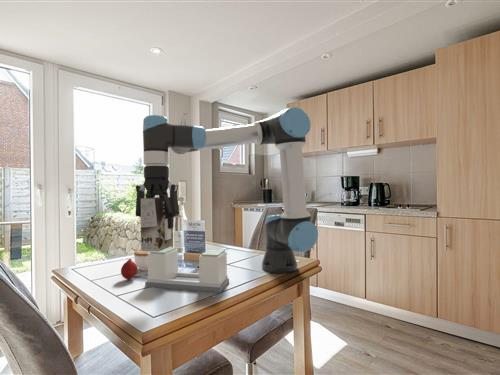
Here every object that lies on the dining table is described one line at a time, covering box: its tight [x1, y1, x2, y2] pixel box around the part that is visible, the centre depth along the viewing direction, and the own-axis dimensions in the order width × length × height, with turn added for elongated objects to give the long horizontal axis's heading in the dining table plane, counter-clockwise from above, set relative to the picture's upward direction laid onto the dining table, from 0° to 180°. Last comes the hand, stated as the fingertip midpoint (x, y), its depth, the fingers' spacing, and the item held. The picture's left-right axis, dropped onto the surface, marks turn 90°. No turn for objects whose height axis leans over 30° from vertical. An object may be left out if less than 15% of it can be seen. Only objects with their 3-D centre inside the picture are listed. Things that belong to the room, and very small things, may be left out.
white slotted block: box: [144, 247, 230, 293], centre depth 101 cm, size 28×10×12 cm, turn 77°
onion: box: [120, 258, 139, 281], centre depth 106 cm, size 6×6×8 cm
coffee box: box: [140, 196, 174, 252], centre depth 88 cm, size 9×6×16 cm
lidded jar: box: [133, 248, 150, 272], centre depth 121 cm, size 11×11×9 cm
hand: (157, 238), depth 88 cm, fingers closed on coffee box, 6 cm apart
